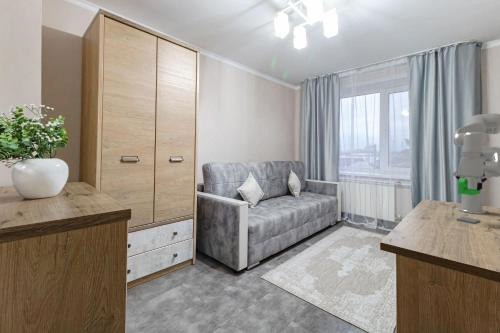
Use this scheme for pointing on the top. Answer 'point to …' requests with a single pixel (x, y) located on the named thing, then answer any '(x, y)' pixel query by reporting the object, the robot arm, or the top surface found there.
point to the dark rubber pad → (468, 220)
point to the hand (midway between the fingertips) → (470, 188)
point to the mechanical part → (466, 188)
